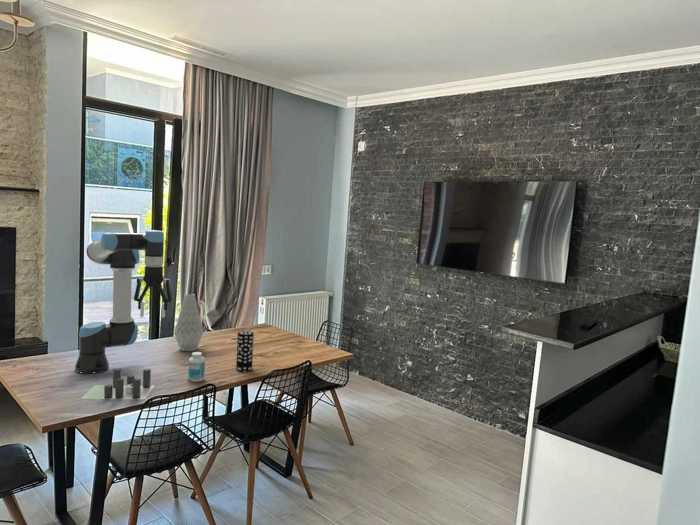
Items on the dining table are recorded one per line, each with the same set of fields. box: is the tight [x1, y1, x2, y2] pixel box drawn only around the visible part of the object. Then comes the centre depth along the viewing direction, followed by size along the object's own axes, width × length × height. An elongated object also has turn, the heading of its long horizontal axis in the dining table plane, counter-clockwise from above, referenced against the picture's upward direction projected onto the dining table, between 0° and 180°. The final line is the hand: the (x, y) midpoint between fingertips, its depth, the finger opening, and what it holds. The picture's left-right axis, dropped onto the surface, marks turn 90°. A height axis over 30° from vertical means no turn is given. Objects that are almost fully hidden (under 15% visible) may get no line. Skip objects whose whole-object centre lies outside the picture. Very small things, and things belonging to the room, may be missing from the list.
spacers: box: [104, 368, 152, 400], centre depth 223 cm, size 16×16×8 cm
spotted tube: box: [235, 330, 255, 373], centre depth 266 cm, size 8×8×20 cm
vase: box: [173, 293, 204, 352], centre depth 297 cm, size 17×17×33 cm
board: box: [80, 384, 155, 400], centre depth 223 cm, size 26×17×1 cm, turn 98°
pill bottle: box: [188, 351, 206, 383], centre depth 247 cm, size 8×7×14 cm
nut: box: [126, 384, 133, 395], centre depth 224 cm, size 5×6×3 cm
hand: (152, 316), depth 222 cm, fingers open, 8 cm apart
